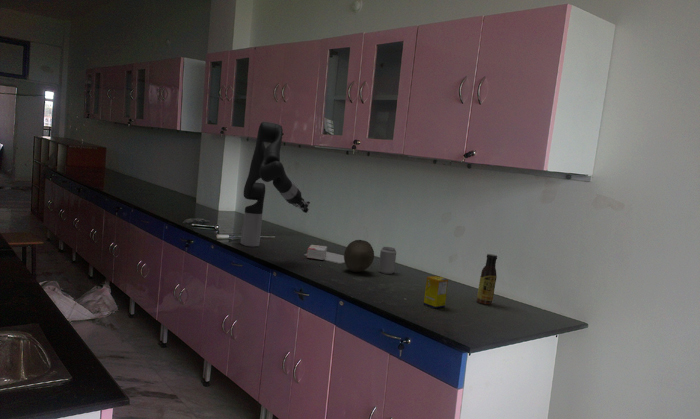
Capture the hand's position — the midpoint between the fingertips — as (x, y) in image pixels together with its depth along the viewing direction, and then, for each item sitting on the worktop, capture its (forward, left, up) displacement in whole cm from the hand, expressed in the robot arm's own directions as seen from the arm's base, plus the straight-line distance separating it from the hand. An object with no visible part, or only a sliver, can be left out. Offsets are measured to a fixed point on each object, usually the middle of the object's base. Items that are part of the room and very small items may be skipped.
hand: (306, 210), depth 254 cm
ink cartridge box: (+1, +10, -22) cm, 24 cm away
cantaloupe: (+28, +7, -25) cm, 38 cm away
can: (+36, +20, -25) cm, 48 cm away
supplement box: (+76, -15, -25) cm, 81 cm away
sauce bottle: (+88, +8, -25) cm, 91 cm away
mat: (+2, +24, -25) cm, 34 cm away
